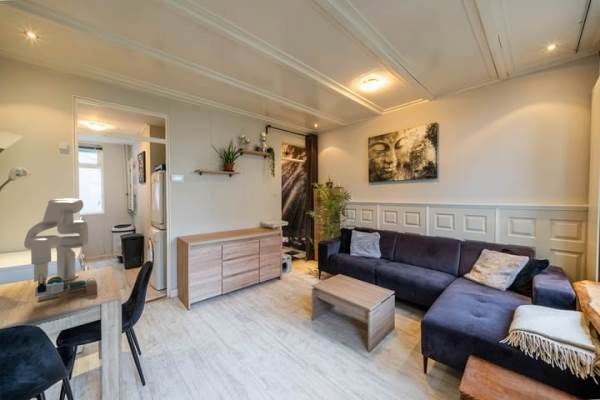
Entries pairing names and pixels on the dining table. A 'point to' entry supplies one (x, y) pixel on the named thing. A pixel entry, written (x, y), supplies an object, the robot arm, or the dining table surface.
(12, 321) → the dining table surface
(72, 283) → the dark green elongated piece
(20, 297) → the dining table surface
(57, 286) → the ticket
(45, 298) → the mat
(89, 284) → the dispenser
